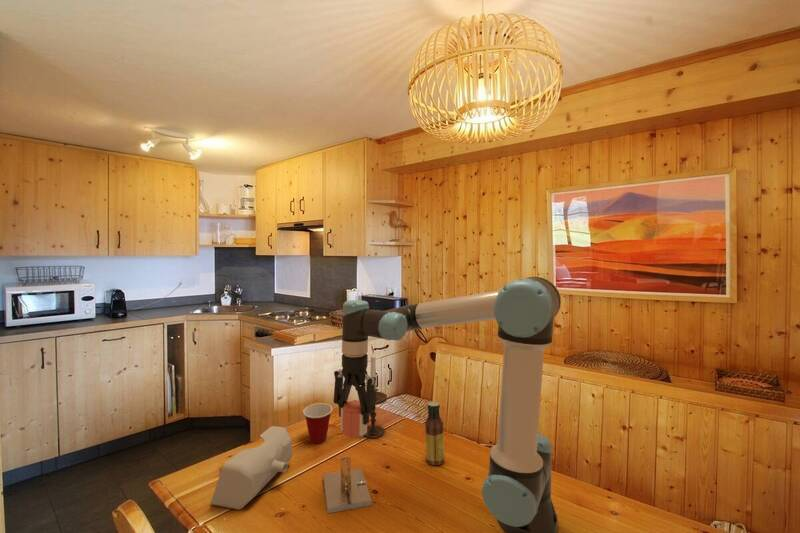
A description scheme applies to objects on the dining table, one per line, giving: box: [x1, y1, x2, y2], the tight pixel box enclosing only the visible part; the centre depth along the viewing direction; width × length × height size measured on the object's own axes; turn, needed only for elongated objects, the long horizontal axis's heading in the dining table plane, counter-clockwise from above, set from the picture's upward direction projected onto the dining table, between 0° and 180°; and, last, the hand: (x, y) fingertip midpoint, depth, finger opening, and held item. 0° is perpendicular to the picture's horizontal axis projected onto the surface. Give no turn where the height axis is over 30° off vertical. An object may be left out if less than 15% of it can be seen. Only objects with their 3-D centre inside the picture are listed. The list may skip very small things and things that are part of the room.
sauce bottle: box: [424, 400, 445, 466], centre depth 127 cm, size 6×6×20 cm
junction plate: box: [322, 456, 372, 514], centre depth 111 cm, size 16×12×10 cm
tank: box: [210, 425, 293, 511], centre depth 114 cm, size 25×16×12 cm, turn 167°
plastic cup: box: [302, 402, 333, 445], centre depth 141 cm, size 11×11×12 cm
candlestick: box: [362, 343, 388, 440], centre depth 146 cm, size 11×11×35 cm
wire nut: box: [342, 400, 362, 438], centre depth 111 cm, size 6×6×8 cm
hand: (353, 430), depth 111 cm, fingers closed on wire nut, 6 cm apart
